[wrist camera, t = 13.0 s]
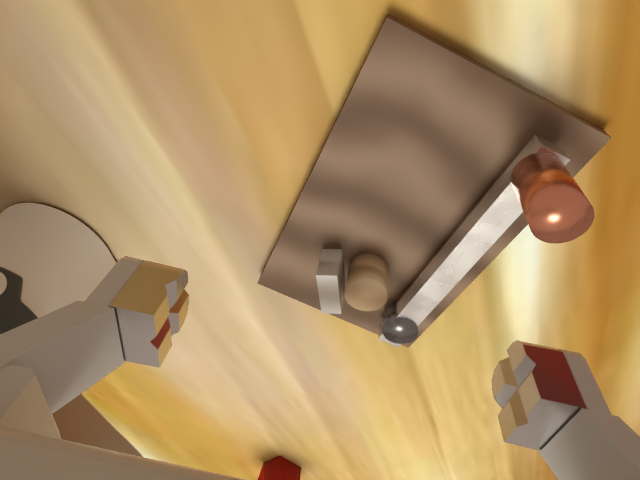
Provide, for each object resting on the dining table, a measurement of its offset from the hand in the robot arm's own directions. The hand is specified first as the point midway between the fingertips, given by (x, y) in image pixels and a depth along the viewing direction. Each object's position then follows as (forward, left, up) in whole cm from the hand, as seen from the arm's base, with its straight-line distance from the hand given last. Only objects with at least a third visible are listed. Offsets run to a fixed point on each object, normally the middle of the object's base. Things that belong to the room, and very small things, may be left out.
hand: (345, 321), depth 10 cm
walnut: (-18, -8, -26) cm, 32 cm away
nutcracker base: (-12, -8, -27) cm, 31 cm away
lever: (-12, -14, -25) cm, 31 cm away
